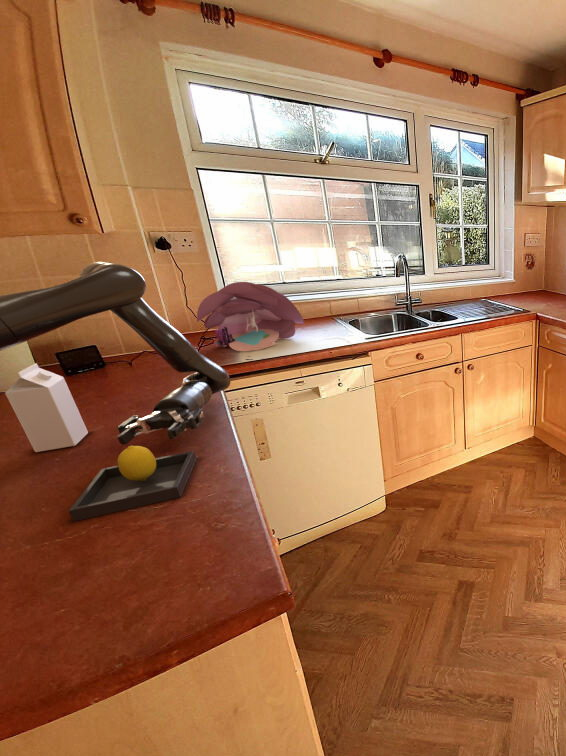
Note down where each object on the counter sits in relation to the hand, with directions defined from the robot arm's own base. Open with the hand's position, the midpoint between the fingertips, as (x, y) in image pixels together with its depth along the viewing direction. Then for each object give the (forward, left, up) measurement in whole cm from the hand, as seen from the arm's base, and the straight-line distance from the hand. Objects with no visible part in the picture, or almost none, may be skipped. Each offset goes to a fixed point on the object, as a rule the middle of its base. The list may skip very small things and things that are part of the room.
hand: (146, 437), depth 87 cm
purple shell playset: (+11, +98, -7) cm, 99 cm away
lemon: (-1, -5, -7) cm, 9 cm away
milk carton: (-24, +24, -7) cm, 34 cm away
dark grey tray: (-1, -7, -7) cm, 10 cm away
